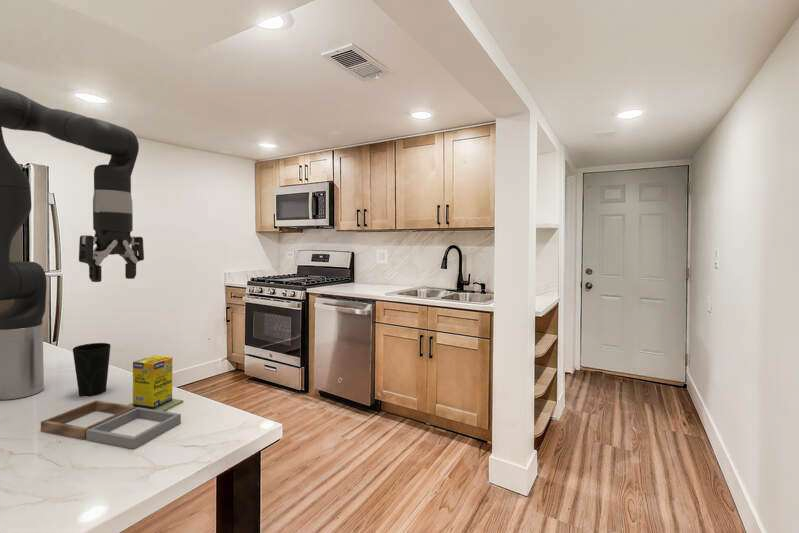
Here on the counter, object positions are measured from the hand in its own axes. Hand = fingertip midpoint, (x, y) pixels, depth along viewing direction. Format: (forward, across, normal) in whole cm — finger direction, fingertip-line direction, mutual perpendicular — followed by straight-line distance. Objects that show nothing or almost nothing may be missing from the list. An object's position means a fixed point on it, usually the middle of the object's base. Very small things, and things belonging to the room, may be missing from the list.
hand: (113, 280), depth 93 cm
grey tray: (+30, +9, +16) cm, 35 cm away
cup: (+30, -4, -12) cm, 33 cm away
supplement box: (+30, -2, +9) cm, 31 cm away
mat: (+30, -2, +9) cm, 31 cm away
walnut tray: (+30, +9, +4) cm, 32 cm away
